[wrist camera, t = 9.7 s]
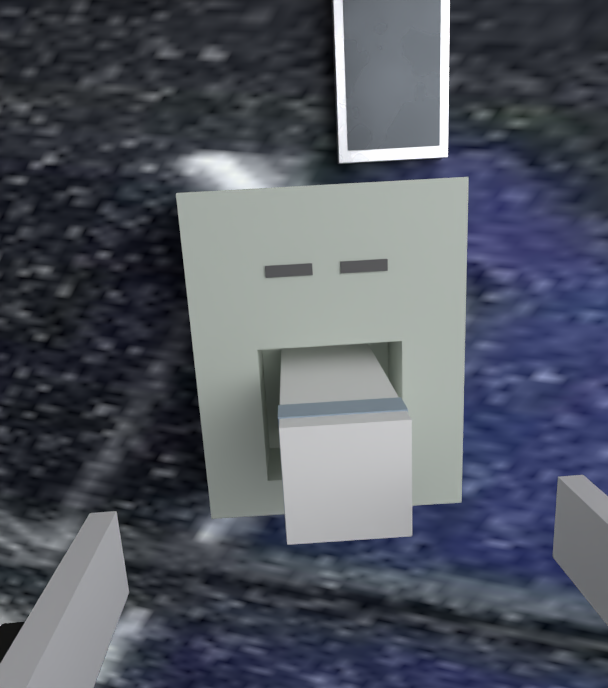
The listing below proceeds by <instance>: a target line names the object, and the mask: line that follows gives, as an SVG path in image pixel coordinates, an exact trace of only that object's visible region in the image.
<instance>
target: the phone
mask: <svg viewBox="0 0 608 688" xmlns="http://www.w3.org/2000/svg"><path fill="white" fill-rule="evenodd" d="M331 6H332V33H333V60H334V87H335V115H336V142H337V164H352V163H370V162H388V161H406V160H424V159H442V158H446V157H448V102H449V20H450V0H331Z"/></svg>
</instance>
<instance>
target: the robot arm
mask: <svg viewBox="0 0 608 688" xmlns="http://www.w3.org/2000/svg"><path fill="white" fill-rule="evenodd" d="M553 558H554V559H555V560H556V562H557V563H558V564H559V565H560V567H561V568H562V569H563V570H564V572H565V573H566V574H567V575H568V577H569V578H570V579H571V580H572V582H573V583H574V584H575V585H576V587H577V588H578V589H579V590H580V592H581V593H582V594H583V595H584V597H585V598H586V599H587V600H588V602H589V603H590V604H591V605H592V607H593V608H594V609H595V610H596V612H597V613H598V614H599V615H600V617H601V618H602V619H603V620H604V622H605V623H606V624H607V625H608V496H607V495H606V494H604V493H603V492H602V491H601V490H600V489H599V488H597V487H596V486H595V485H594V484H593V483H592V482H591V481H589V480H588V479H587V478H586V477H585V476H584V475H575V476H562V477H558V485H557V500H556V515H555V530H554V545H553ZM128 594H129V588H128V582H127V575H126V569H125V563H124V556H123V550H122V543H121V537H120V531H119V524H118V518H117V511H112V512H99V513H90V514H89V515H88V517H87V519H86V520H85V522H84V524H83V525H82V527H81V529H80V531H79V532H78V534H77V536H76V537H75V539H74V541H73V542H72V544H71V546H70V547H69V549H68V551H67V552H66V554H65V556H64V557H63V559H62V561H61V562H60V564H59V566H58V567H57V569H56V571H55V572H54V574H53V576H52V578H51V579H50V581H49V583H48V584H47V586H46V588H45V589H44V591H43V593H42V594H41V596H40V598H39V599H38V601H37V603H36V604H35V606H34V608H33V609H32V611H31V613H30V614H29V616H28V618H27V620H26V621H25V622H17V623H5V624H2V625H1V626H0V688H94V685H95V683H96V680H97V677H98V675H99V672H100V669H101V666H102V664H103V661H104V658H105V656H106V653H107V650H108V648H109V645H110V642H111V640H112V637H113V634H114V632H115V629H116V626H117V623H118V621H119V618H120V615H121V613H122V610H123V607H124V605H125V602H126V599H127V597H128Z"/></svg>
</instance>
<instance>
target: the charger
mask: <svg viewBox="0 0 608 688" xmlns="http://www.w3.org/2000/svg"><path fill="white" fill-rule="evenodd" d="M278 428H279V442H280V456H281V470H282V484H283V498H284V512H285V526H286V533H287V545H288V544H303V543H318V542H333V541H348V540H363V539H378V538H392V537H407V536H412V419H411V418H410V416H409V414H408V408H407V407H406V405H405V403H404V402H403V400H402V398H401V397H398V395H397V393H396V392H395V390H394V388H393V386H392V385H391V383H390V381H389V379H388V378H387V376H386V374H385V372H384V371H383V369H382V367H381V365H380V364H379V362H378V360H377V359H376V357H375V355H374V353H373V352H372V350H371V348H370V346H369V345H368V344H352V345H336V346H319V347H303V348H286V349H281V377H280V405H278Z"/></svg>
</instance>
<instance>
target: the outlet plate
mask: <svg viewBox="0 0 608 688" xmlns="http://www.w3.org/2000/svg"><path fill="white" fill-rule="evenodd" d="M176 199H177V208H178V217H179V226H180V235H181V245H182V254H183V263H184V272H185V281H186V290H187V299H188V308H189V317H190V326H191V336H192V345H193V354H194V363H195V372H196V381H197V390H198V399H199V408H200V418H201V427H202V436H203V445H204V454H205V463H206V472H207V481H208V490H209V500H210V509H211V518H212V519H218V518H233V517H248V516H263V515H278V514H285V512H284V498H283V484H282V470H281V456H280V442H279V428H278V405H280V377H281V349H286V348H303V347H319V346H336V345H352V344H368V345H369V346H370V348H371V350H372V352H373V353H374V355H375V357H376V359H377V360H378V362H379V364H380V365H381V367H382V369H383V371H384V372H385V374H386V376H387V378H388V379H389V381H390V383H391V385H392V386H393V388H394V390H395V392H396V393H397V395H398V397H401V398H402V400H403V402H404V403H405V405H406V407H407V408H408V414H409V416H410V418H411V419H412V506H414V505H429V504H444V503H459V502H461V500H462V453H463V407H464V360H465V314H466V267H467V221H468V177H458V178H440V179H422V180H404V181H386V182H368V183H350V184H332V185H314V186H296V187H278V188H260V189H242V190H224V191H206V192H188V193H176Z"/></svg>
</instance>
